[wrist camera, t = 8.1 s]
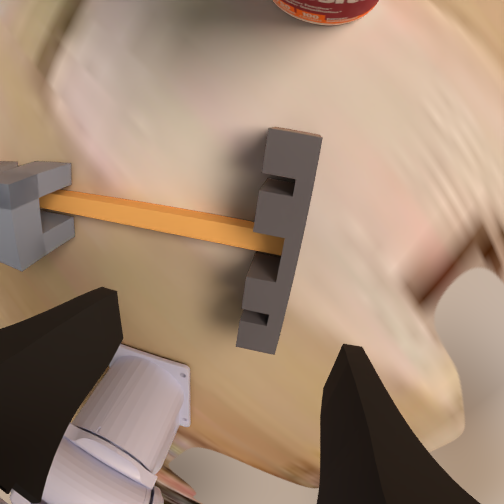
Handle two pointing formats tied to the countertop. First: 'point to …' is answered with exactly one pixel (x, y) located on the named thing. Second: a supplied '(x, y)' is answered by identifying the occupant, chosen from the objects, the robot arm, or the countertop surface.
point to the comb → (278, 235)
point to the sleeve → (31, 213)
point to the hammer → (160, 218)
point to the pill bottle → (327, 10)
